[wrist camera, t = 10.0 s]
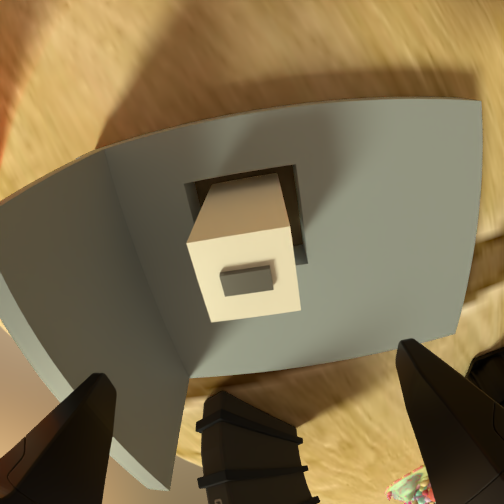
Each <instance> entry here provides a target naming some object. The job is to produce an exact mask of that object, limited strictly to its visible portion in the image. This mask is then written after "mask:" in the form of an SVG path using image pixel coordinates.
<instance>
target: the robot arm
mask: <svg viewBox="0 0 504 504" xmlns="http://www.w3.org/2000/svg"><path fill="white" fill-rule="evenodd" d="M396 368H397V372H398V376H399V380H400V384H401V389H402V393H403V397H404V402H405V406H406V410H407V413H408V416H409V419H410V422H411V425H412V428H413V431H414V433H415V436H416V439H417V442H418V445H419V449H420V452H421V455H422V458H423V461H424V464H425V468H426V471H427V474H428V478H429V481H430V484H431V488H432V491H433V495H434V498H435V502H436V504H504V348H501V349H499V350H496V351H494V352H491V353H488V354H486V355H483V356H480V357H478V358H475V359H474V360H473V361H472V362H471V365H470V367H469V370H468V372H467V375H466V377H464V376H462V375H461V374H460V373H458V372H457V371H456V370H454V369H453V368H452V367H451V366H449V365H448V364H447V363H445V362H444V361H443V360H441V359H440V358H439V357H438V356H436V355H435V354H434V353H432V352H431V351H430V350H428V349H427V348H426V347H424V346H423V345H422V344H420V343H419V342H418V341H416V340H415V339H413V338H408V339H404V340H401V341H399V343H398V349H397V354H396ZM116 399H117V391H116V388H115V387H114V385H113V384H112V382H111V381H110V379H109V378H108V376H107V375H106V374H105V373H100V372H95V373H92V374H91V375H90V376H89V377H88V378H87V379H86V380H85V381H84V382H82V383H81V384H80V385H79V386H78V387H77V388H76V389H75V390H74V391H73V392H72V393H71V394H70V395H68V396H67V397H66V398H65V399H64V400H63V401H62V402H61V403H60V404H59V405H58V406H57V407H56V408H55V409H54V410H52V411H51V412H50V413H49V414H48V415H47V416H46V417H45V418H44V419H43V420H42V421H41V422H40V423H39V424H38V425H37V426H36V427H34V428H33V429H32V430H31V431H30V432H29V433H28V434H27V435H26V437H24V438H23V439H22V440H21V441H20V442H19V443H18V444H17V445H15V446H14V447H13V448H12V449H11V450H10V451H9V452H8V453H6V454H5V455H4V456H3V457H2V458H0V504H102V499H103V491H104V485H105V478H106V472H107V466H108V459H109V454H110V448H111V443H112V437H113V430H114V419H115V409H116Z"/></svg>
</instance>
